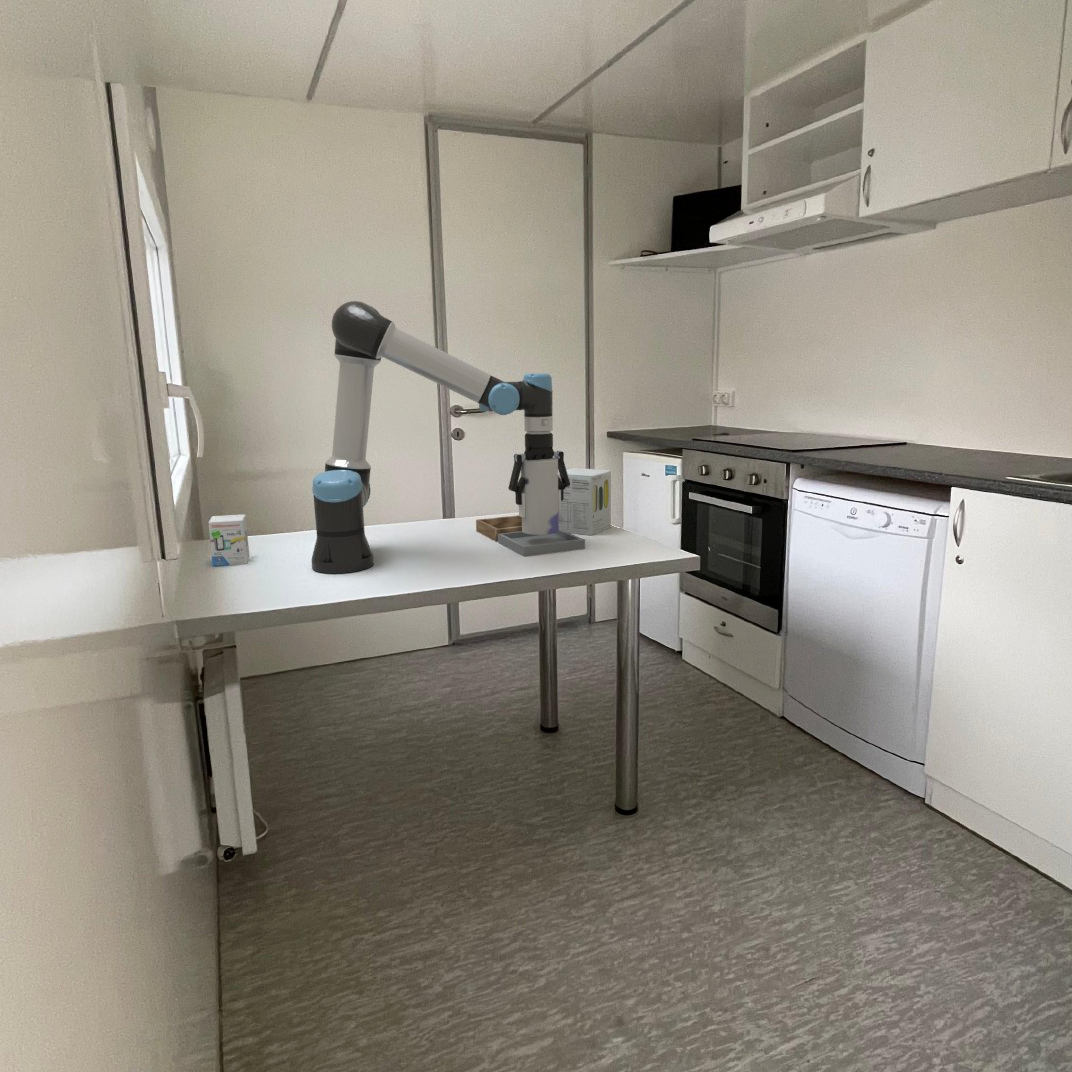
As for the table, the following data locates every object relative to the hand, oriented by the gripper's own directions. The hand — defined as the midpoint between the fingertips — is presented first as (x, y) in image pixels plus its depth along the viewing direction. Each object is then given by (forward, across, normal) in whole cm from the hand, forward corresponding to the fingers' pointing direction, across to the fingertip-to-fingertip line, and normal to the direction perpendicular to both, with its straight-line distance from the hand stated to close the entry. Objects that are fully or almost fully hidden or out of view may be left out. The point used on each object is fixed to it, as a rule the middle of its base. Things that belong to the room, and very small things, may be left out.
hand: (540, 514), depth 212 cm
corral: (+9, -1, +18) cm, 20 cm away
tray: (+9, 0, 0) cm, 9 cm away
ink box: (+9, -78, +23) cm, 82 cm away
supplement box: (+9, +20, +13) cm, 25 cm away
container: (+5, 0, 0) cm, 5 cm away
